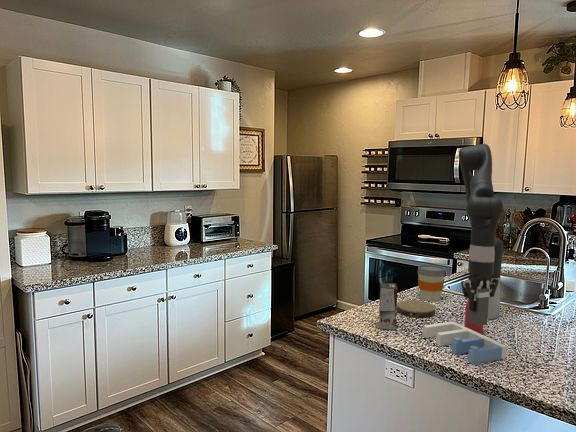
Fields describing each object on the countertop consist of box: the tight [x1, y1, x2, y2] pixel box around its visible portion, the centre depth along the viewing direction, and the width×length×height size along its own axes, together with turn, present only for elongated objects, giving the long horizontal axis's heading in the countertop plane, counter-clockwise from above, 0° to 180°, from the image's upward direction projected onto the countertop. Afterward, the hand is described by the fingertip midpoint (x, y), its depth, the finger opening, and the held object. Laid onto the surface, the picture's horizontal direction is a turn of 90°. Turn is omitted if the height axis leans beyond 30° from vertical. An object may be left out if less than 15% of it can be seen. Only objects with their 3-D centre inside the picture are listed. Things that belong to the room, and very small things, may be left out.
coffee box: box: [378, 282, 398, 331], centre depth 167 cm, size 9×6×16 cm
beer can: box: [464, 298, 484, 334], centre depth 162 cm, size 7×7×12 cm
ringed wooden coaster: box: [396, 299, 436, 319], centre depth 184 cm, size 16×16×3 cm
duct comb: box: [422, 320, 508, 365], centre depth 148 cm, size 14×24×5 cm, turn 21°
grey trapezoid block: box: [468, 288, 489, 326], centre depth 139 cm, size 4×4×12 cm
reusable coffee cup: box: [417, 264, 446, 302], centre depth 203 cm, size 13×13×15 cm
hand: (478, 310), depth 139 cm, fingers closed on grey trapezoid block, 4 cm apart
